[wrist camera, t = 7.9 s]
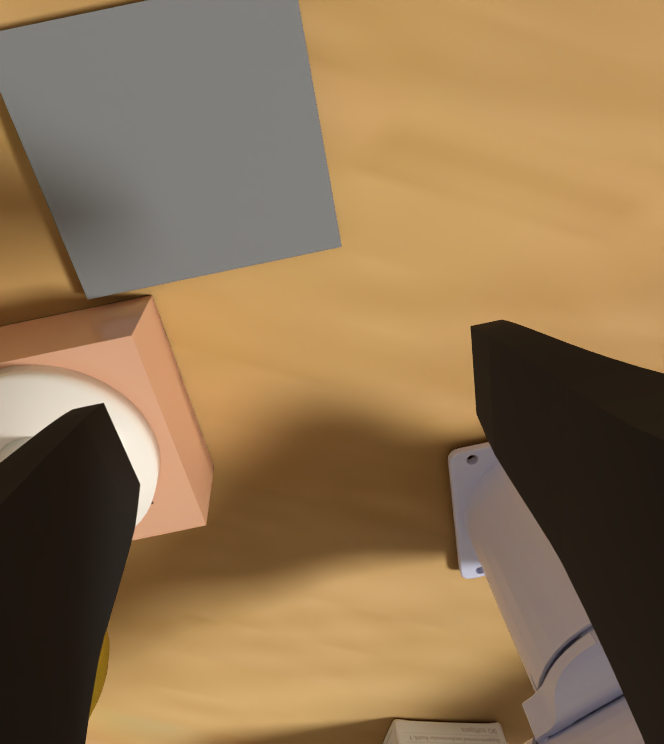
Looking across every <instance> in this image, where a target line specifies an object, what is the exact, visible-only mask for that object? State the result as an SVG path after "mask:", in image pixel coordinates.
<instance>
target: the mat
mask: <svg viewBox="0 0 664 744" xmlns="http://www.w3.org/2000/svg"><path fill="white" fill-rule="evenodd" d="M0 93H1V95H2V97H3V100H4V102H5V105H6V107H7V109H8V112H9V114H10V116H11V119H12V121H13V124H14V126H15V128H16V131H17V133H18V135H19V138H20V140H21V142H22V145H23V147H24V150H25V152H26V154H27V157H28V159H29V161H30V164H31V166H32V169H33V171H34V173H35V176H36V178H37V180H38V183H39V185H40V188H41V190H42V192H43V195H44V197H45V199H46V202H47V204H48V207H49V209H50V211H51V214H52V216H53V218H54V221H55V223H56V226H57V228H58V230H59V233H60V235H61V237H62V240H63V242H64V245H65V247H66V249H67V252H68V254H69V256H70V259H71V261H72V264H73V266H74V268H75V271H76V273H77V275H78V278H79V280H80V283H81V285H82V287H83V290H84V292H85V294H86V297H87V299H93V298H98V297H103V296H108V295H112V294H117V293H122V292H127V291H132V290H136V289H141V288H146V287H151V286H156V285H160V284H165V283H170V282H175V281H180V280H184V279H189V278H194V277H199V276H204V275H208V274H213V273H218V272H223V271H228V270H232V269H237V268H242V267H247V266H252V265H256V264H261V263H266V262H271V261H276V260H280V259H285V258H290V257H295V256H300V255H304V254H309V253H314V252H319V251H324V250H328V249H333V248H338V247H342V246H341V240H340V234H339V229H338V223H337V217H336V212H335V206H334V200H333V195H332V189H331V183H330V178H329V172H328V166H327V161H326V155H325V149H324V144H323V138H322V132H321V127H320V121H319V115H318V110H317V104H316V98H315V93H314V87H313V81H312V76H311V70H310V65H309V59H308V53H307V48H306V42H305V36H304V31H303V25H302V19H301V14H300V8H299V2H298V0H147V1H142V2H137V3H132V4H127V5H123V6H118V7H113V8H108V9H103V10H99V11H94V12H89V13H84V14H79V15H75V16H70V17H65V18H60V19H55V20H51V21H46V22H41V23H36V24H31V25H27V26H22V27H17V28H12V29H7V30H3V31H0Z"/></svg>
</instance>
